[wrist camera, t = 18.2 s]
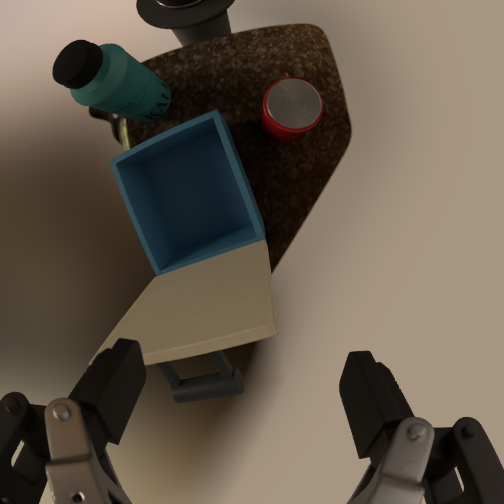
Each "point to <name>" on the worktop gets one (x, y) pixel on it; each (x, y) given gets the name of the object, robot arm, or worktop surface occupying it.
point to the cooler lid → (203, 318)
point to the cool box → (188, 194)
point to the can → (290, 109)
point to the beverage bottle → (111, 81)
